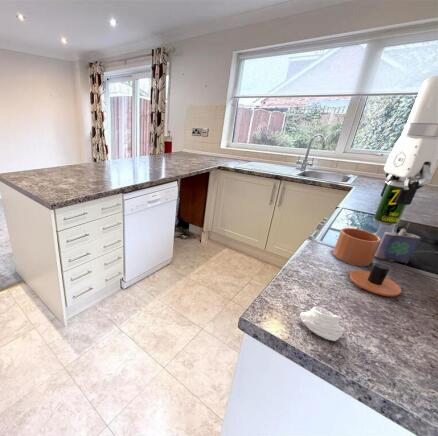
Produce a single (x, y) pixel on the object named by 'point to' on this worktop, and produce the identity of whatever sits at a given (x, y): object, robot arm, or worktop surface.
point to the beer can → (390, 204)
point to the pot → (356, 246)
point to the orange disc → (376, 280)
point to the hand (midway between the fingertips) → (394, 199)
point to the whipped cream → (323, 323)
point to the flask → (397, 246)
